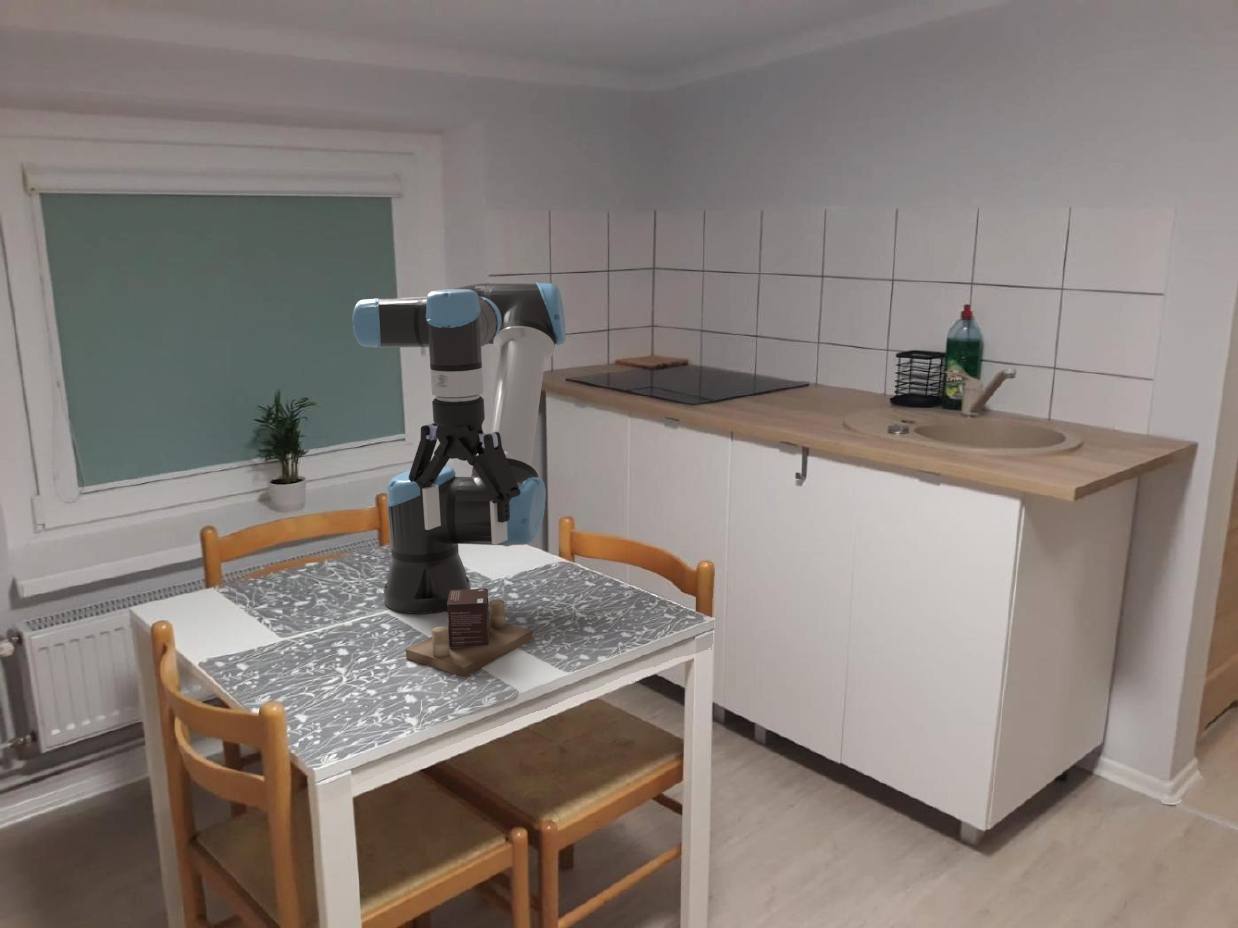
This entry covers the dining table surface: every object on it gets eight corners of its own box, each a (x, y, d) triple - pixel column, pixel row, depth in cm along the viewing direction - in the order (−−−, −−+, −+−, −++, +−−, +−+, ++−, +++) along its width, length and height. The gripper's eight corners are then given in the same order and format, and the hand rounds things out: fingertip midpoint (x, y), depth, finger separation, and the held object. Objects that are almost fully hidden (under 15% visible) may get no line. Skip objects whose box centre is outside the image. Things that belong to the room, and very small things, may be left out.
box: (452, 632, 156) (449, 589, 154) (490, 631, 156) (488, 587, 154) (448, 648, 150) (446, 603, 148) (488, 647, 150) (486, 602, 148)
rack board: (406, 658, 150) (403, 624, 149) (476, 623, 163) (474, 592, 162) (464, 676, 144) (463, 642, 142) (533, 638, 156) (532, 606, 155)
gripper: (379, 393, 148) (389, 527, 153) (506, 409, 134) (513, 555, 139) (415, 386, 154) (423, 515, 159) (540, 400, 140) (545, 541, 145)
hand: (465, 534), depth 149 cm, fingers open, 13 cm apart
